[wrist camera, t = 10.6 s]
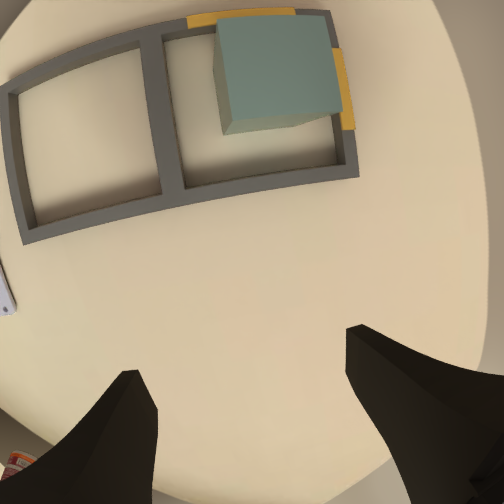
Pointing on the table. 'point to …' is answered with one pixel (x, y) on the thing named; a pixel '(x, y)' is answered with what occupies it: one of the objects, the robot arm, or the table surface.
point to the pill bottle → (17, 463)
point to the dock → (162, 127)
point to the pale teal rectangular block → (274, 72)
